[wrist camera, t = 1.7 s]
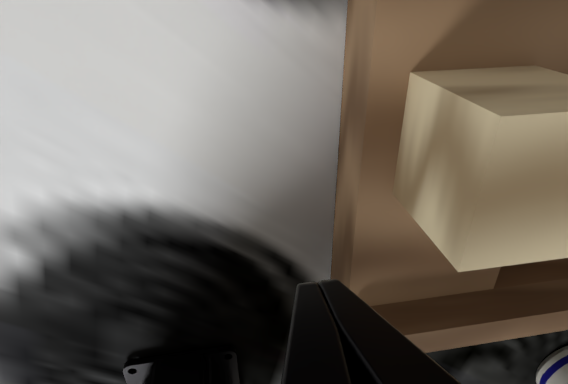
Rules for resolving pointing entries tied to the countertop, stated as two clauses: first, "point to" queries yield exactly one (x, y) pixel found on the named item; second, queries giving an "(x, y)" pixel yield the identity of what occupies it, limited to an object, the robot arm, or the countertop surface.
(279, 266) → the countertop surface
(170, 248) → the countertop surface
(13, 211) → the countertop surface
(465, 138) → the maple cube
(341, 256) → the trap box
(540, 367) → the energy drink
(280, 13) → the countertop surface
